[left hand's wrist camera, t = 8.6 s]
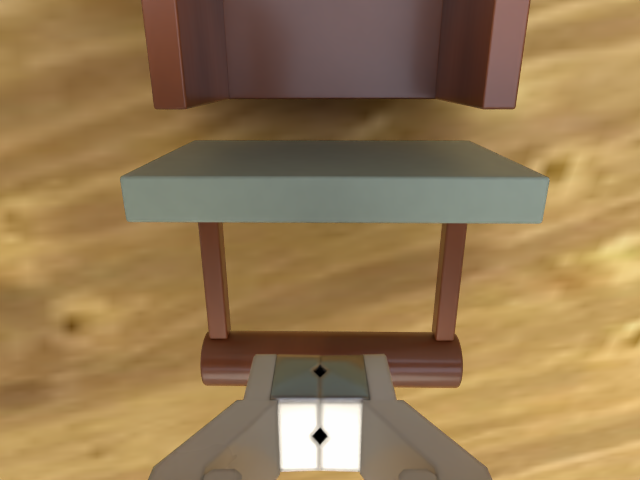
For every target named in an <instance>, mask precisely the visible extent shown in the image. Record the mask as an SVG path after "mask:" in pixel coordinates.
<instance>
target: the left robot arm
mask: <svg viewBox="0 0 640 480" xmlns="http://www.w3.org/2000/svg"><path fill="white" fill-rule="evenodd" d="M286 471H354V472H360V474H361V476H362V477H363V478H364V480H492V478H491V476H490V474H489V471H488V469H487V467H486V466H484V465H483V464H482V463H481V462H479V461H478V460H477V459H476V458H474V457H473V456H472V455H471V454H469V453H468V452H467V451H466V450H464V449H463V448H462V447H461V446H459V445H458V444H457V443H456V442H454V441H453V440H452V439H451V438H449V437H448V436H447V435H446V434H445V433H443V432H442V431H441V430H440V429H438V428H437V427H436V426H435V425H433V424H432V423H431V422H430V421H428V420H427V419H426V418H425V417H423V416H422V415H421V414H420V413H418V412H417V411H416V410H415V409H413V408H412V407H411V406H410V405H408V404H407V403H406V402H405V401H403V400H397V399H396V395H395V391H394V387H393V382H392V378H391V374H390V370H389V366H388V362H387V357H386V355H385V354H365V355H332V356H320V355H290V354H278V355H276V354H256V355H255V356H254V357H253V361H252V365H251V370H250V374H249V378H248V382H247V386H246V391H245V395H244V399H243V400H237V401H235V402H234V403H233V404H232V405H230V406H229V407H228V408H227V409H225V410H224V411H223V412H222V413H220V414H219V415H218V416H217V417H215V418H214V419H213V420H212V421H210V422H209V423H208V424H207V425H205V426H204V427H203V428H202V429H200V430H199V431H198V432H197V433H195V434H194V435H193V436H192V437H190V438H189V439H188V440H187V441H185V442H184V443H183V444H182V445H180V446H179V447H178V448H177V449H175V450H174V451H173V452H172V453H170V454H169V455H168V456H167V457H165V458H164V459H163V460H162V461H160V462H159V463H158V464H157V465H155V466H154V467H153V469H152V472H151V474H150V476H149V479H148V480H276V479H277V477H278V476H279V475H280V472H286Z"/></svg>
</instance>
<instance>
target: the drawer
mask: <svg viewBox="0 0 640 480" xmlns="http://www.w3.org/2000/svg"><path fill="white" fill-rule="evenodd" d="M141 3H142V11H143V19H144V27H145V36H146V44H147V52H148V60H149V69H150V77H151V85H152V93H153V102H154V108H155V109H188V108H192V107H197V106H201V105H205V104H209V103H213V102H218V101H222V100H226V99H439V100H444V101H448V102H453V103H457V104H462V105H467V106H471V107H476V108H480V109H515V107H516V100H517V92H518V85H519V78H520V71H521V64H522V57H523V50H524V43H525V36H526V28H527V21H528V14H529V7H530V0H141ZM120 182H121V188H122V195H123V201H124V208H125V214H126V220H127V221H128V222H198V226H199V236H200V247H201V257H202V267H203V277H204V288H205V298H206V308H207V318H208V329H209V332H207V334H206V336H205V338H204V341H203V345H202V351H201V377H202V381H203V383H204V384H205V385H207V386H247V382H248V378H249V374H250V370H251V365H252V361H253V357H254V356H255V355H256V354H276V355H278V354H290V355H320V356H332V355H365V354H385V355H386V357H387V362H388V366H389V370H390V374H391V378H392V382H393V387H413V388H457V387H459V385H460V383H461V380H462V373H463V359H462V351H461V346H460V342H459V340H458V337H457V335H456V334H455V325H456V317H457V308H458V299H459V291H460V282H461V273H462V265H463V256H464V247H465V239H466V230H467V223H515V224H539V223H541V222H542V220H543V214H544V209H545V203H546V197H547V191H548V186H549V177H546V176H544V175H542V174H540V173H538V172H536V171H533V170H531V169H529V168H527V167H525V166H523V165H520V164H518V163H516V162H514V161H512V160H510V159H508V158H505V157H503V156H501V155H499V154H497V153H495V152H492V151H490V150H488V149H486V148H484V147H482V146H479V145H477V144H475V143H473V142H471V141H238V140H195V141H192V142H190V143H188V144H186V145H184V146H182V147H180V148H178V149H176V150H174V151H172V152H170V153H168V154H166V155H164V156H162V157H160V158H158V159H156V160H154V161H152V162H150V163H148V164H146V165H143V166H141V167H139V168H137V169H135V170H133V171H131V172H129V173H127V174H125V175H123V176H121V178H120ZM222 222H260V223H442V231H441V241H440V252H439V262H438V273H437V283H436V294H435V304H434V315H433V325H432V332H317V331H230V330H231V326H230V313H229V300H228V287H227V275H226V262H225V249H224V236H223V224H222Z"/></svg>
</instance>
